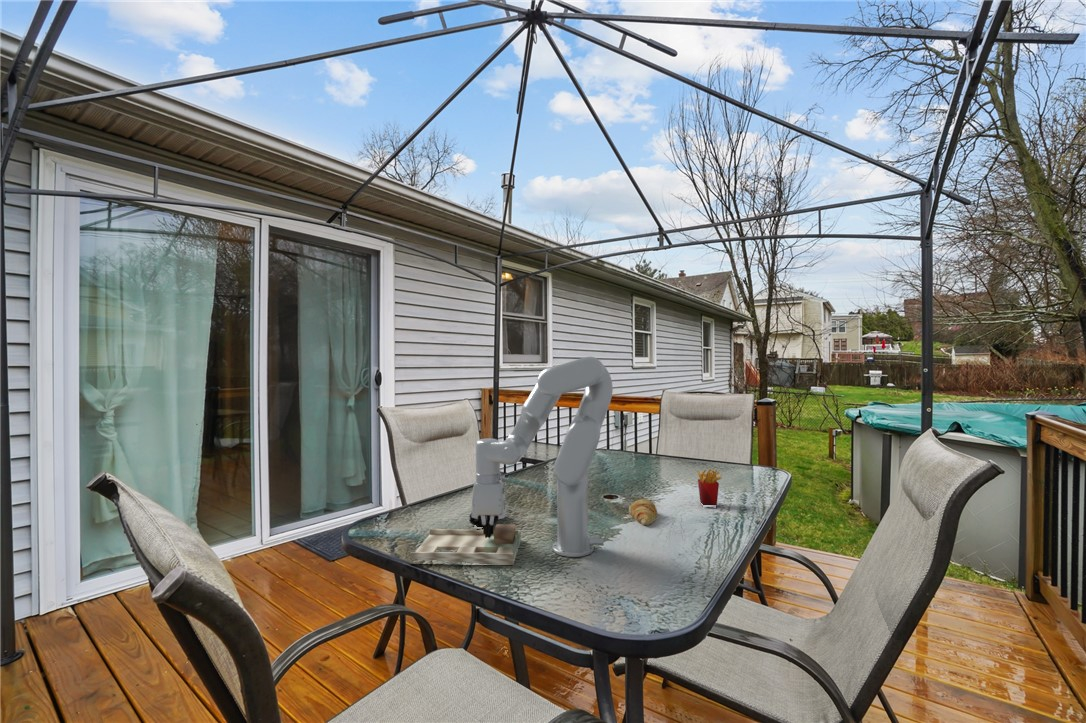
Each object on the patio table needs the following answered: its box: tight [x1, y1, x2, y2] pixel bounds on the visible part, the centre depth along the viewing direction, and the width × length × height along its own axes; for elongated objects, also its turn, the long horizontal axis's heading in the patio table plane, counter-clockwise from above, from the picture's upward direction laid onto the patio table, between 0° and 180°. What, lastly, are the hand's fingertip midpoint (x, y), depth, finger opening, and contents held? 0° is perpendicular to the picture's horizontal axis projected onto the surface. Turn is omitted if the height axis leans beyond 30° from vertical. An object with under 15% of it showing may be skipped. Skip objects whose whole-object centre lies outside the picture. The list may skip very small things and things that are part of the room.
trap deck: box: [409, 528, 522, 566], centre depth 148 cm, size 30×19×4 cm, turn 86°
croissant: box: [628, 498, 658, 526], centre depth 178 cm, size 21×10×8 cm, turn 174°
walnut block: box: [494, 523, 516, 544], centre depth 152 cm, size 6×6×4 cm
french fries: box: [697, 468, 722, 506], centre depth 189 cm, size 9×8×15 cm
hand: (488, 536), depth 152 cm, fingers closed
